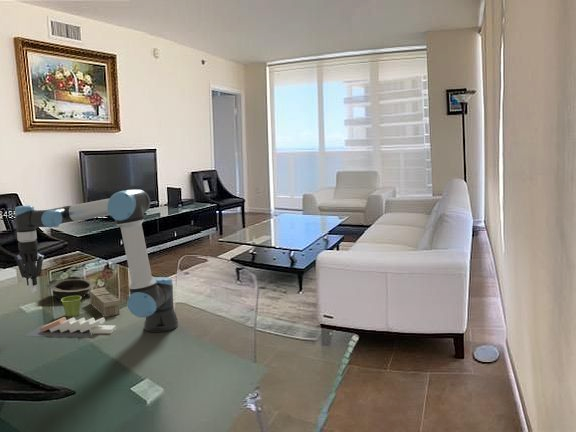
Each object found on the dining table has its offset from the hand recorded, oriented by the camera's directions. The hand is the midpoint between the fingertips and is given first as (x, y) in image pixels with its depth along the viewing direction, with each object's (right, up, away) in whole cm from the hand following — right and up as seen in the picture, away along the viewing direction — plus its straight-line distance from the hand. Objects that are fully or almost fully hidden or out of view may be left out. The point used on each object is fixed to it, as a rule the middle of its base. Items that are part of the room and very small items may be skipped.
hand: (33, 292), depth 211 cm
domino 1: (+4, -17, +2) cm, 17 cm away
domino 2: (+8, -17, +2) cm, 19 cm away
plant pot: (+7, -15, +23) cm, 29 cm away
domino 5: (+22, -17, +1) cm, 28 cm away
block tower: (+19, -14, +33) cm, 41 cm away
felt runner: (+14, -18, +2) cm, 23 cm away
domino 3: (+13, -17, +1) cm, 21 cm away
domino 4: (+17, -17, +1) cm, 24 cm away
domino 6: (+26, -17, +1) cm, 31 cm away
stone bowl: (-7, -12, +56) cm, 57 cm away
